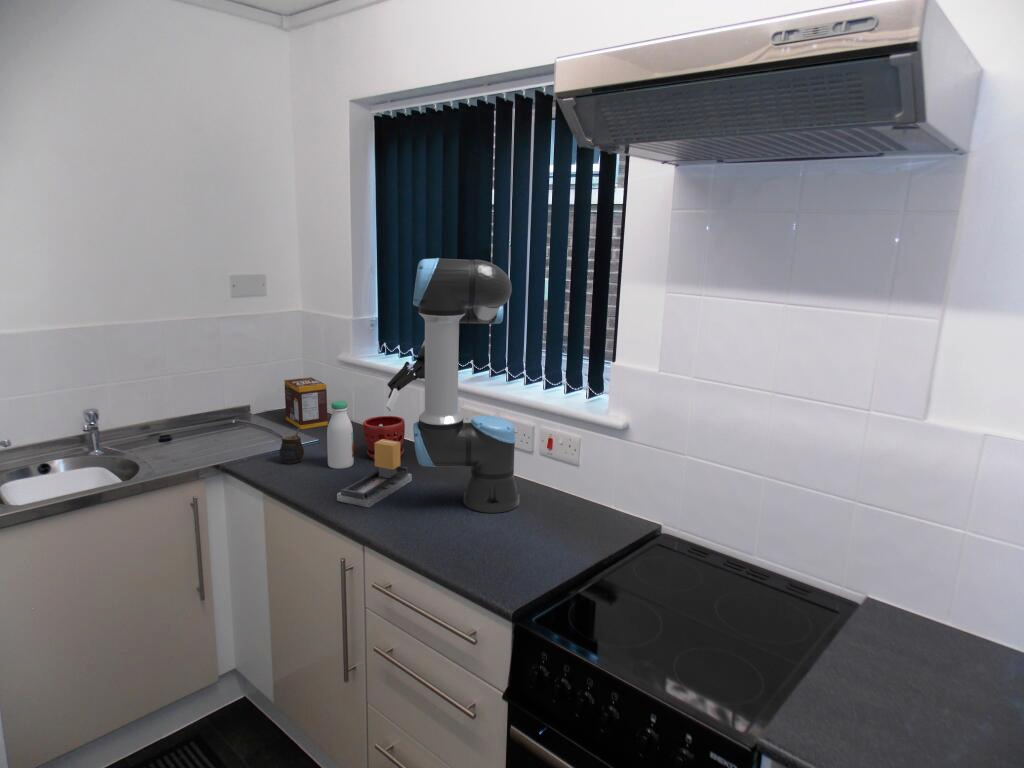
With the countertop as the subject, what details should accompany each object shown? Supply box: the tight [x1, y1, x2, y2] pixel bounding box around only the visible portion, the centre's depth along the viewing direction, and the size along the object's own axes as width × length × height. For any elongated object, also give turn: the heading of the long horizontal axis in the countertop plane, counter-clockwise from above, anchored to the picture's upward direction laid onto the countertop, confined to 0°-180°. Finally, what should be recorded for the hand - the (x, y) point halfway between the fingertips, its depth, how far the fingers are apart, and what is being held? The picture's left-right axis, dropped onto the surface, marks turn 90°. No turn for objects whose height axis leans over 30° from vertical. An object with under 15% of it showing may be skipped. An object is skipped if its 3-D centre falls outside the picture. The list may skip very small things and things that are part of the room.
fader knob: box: [374, 439, 401, 478], centre depth 191 cm, size 4×6×10 cm, turn 68°
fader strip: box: [336, 465, 413, 509], centre depth 186 cm, size 23×10×4 cm, turn 158°
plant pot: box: [362, 415, 406, 460], centre depth 214 cm, size 13×13×12 cm
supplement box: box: [284, 376, 329, 430], centre depth 248 cm, size 10×15×16 cm
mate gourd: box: [278, 427, 305, 465], centre depth 206 cm, size 7×8×10 cm
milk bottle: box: [326, 400, 355, 470], centre depth 203 cm, size 8×8×20 cm
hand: (407, 411), depth 198 cm, fingers open, 12 cm apart
